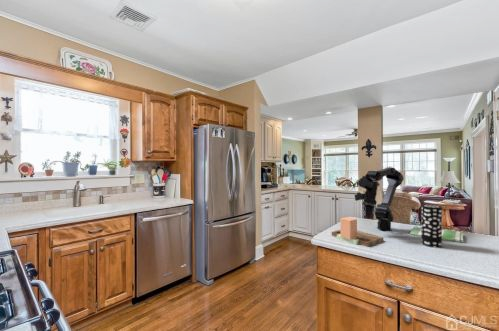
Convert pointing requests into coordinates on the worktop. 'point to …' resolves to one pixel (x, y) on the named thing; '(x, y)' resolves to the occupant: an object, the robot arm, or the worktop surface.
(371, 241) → the walnut board
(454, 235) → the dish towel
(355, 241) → the green end pad
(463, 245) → the worktop surface
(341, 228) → the terracotta block
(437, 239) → the spotted tube
